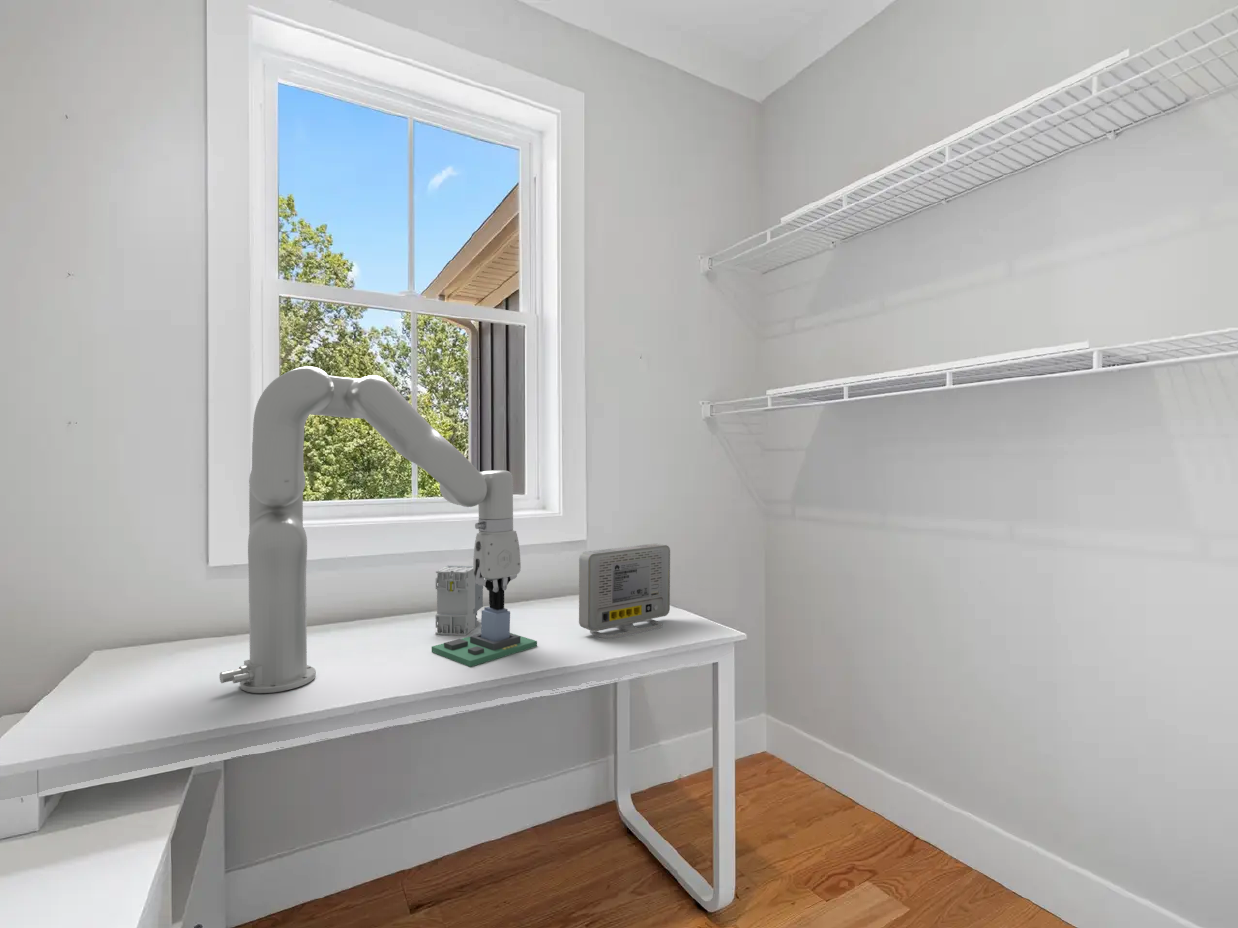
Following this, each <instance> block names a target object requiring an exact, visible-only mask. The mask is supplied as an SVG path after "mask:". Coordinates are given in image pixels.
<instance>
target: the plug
mask: <svg viewBox="0 0 1238 928" xmlns="http://www.w3.org/2000/svg"><path fill="white" fill-rule="evenodd" d="M480 621H481V623H480V626H481V627H480V633H481V638H484V639H487V640H490V641H493V642H496V641H500V640H504V639H507V638H510V633H511V632H510V630H511V629H510V628H511V611H510V610H508V608H505V607H504V608H503V609H499V610H497V609H493V608H490V606H485V607H484V608H483V609H482V610H481V619H480Z"/></svg>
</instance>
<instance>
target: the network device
mask: <svg viewBox="0 0 1238 928" xmlns="http://www.w3.org/2000/svg"><path fill="white" fill-rule="evenodd" d="M578 558H579V559H578V563H579V564H578V624H579V626H580V627H581V628H583V629H585V630H589V633H590V635H593V636H595V637H598V638H600V639H607V640H612V639H619V638H622V637H627V636H631V635H632V636H633V635H635V634H641V633H647V632H650V631H654V630H658V629H661V628H663V622H661V621H658V620H655V619H657V618H662V617H663V618H664V617H666V616H667V615H669V613H670V609H671V603H670V602H671V585H670V584H671V548H670V547H669V545H667V544H661V543H649V544H639V545H629V546H621V547H614V548H612V547H611V548H604V549H595V550H587V551H583V552H581V554H580V555H579V557H578ZM640 622H646V623H648V624H651V626H647V627H636V626H634V623H640ZM610 628H613V629H614V628H616V629H618V630H621V631H623V632H620V633H619V632H618V633H615V634H610V635H609V634H605V633H602V632H600V631H601V630H606V629H610Z"/></svg>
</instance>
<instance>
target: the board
mask: <svg viewBox="0 0 1238 928" xmlns="http://www.w3.org/2000/svg"><path fill="white" fill-rule="evenodd" d="M536 647H538V640H535V639H532V638H528V637H526V636H522V635H520V634H519V635H518V634H515V633H512V632H510V638H507V639H504V640H500V641H496V642H493V641H490V640H487V639H484V638H481V632H480V633H477V634H473V635H469V636H466V637H463V638H457V639H453V640H449V641H445V642H443V643H440V644H436V645H432V646H431V653H434V654H436V655H437V656H438V655H439V656H441V657H444V658H446V659H449V660H451V661H454V662H456V663H458V664H462V665H465V666H467V667H470V668H471V667H473V666H474V667H475V666H477V665H481V664H484V663H488V662H490V661H495V660H497V659H500V658H503V657H507V656H510V655H513V654H517V653H520V652H523V651H527V650H530V649H533V648H536Z"/></svg>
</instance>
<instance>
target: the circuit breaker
mask: <svg viewBox="0 0 1238 928" xmlns="http://www.w3.org/2000/svg"><path fill="white" fill-rule="evenodd" d="M435 573H436V574H437V577H436V578H435V590H436V614H435V628H436V632H435V635H445V636H446V635H448V636H451V635H452V636H467V634H468V635H469V634H470V633H471V632H472V631H473V630H474V629H476V628H477V626H478V618H477V616H478V611H479V610H480V609H482V608H483V606H484V605H483V604H484V601H483V600H484V586H481V585H476V584H475V580H476V577H475V576H474V570H473V565H446V566H445V567H444V566H443V567H442V568H440V569H438V570H437V571H435Z"/></svg>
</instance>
